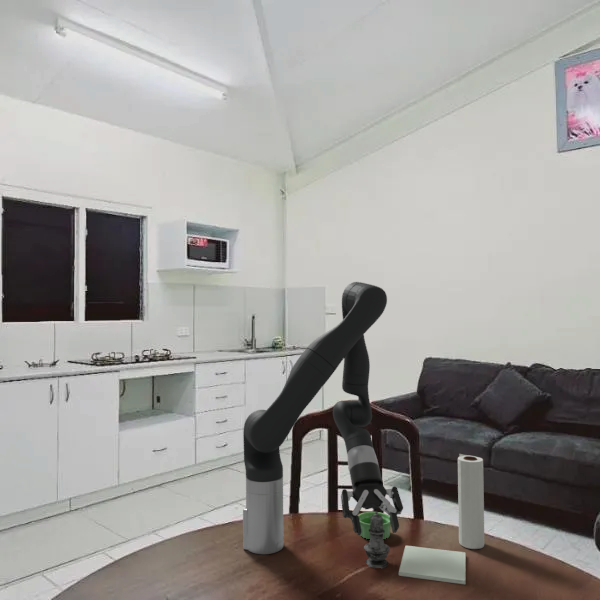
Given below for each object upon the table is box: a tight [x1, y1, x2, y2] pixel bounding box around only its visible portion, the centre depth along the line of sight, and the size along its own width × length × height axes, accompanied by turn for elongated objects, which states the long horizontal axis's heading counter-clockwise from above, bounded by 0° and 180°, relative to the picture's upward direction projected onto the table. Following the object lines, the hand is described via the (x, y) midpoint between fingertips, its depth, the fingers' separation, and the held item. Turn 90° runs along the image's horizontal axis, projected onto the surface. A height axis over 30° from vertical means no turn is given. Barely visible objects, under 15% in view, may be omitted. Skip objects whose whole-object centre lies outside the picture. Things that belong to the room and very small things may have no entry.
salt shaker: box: [363, 510, 390, 569], centre depth 124 cm, size 6×6×12 cm
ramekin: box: [357, 511, 392, 540], centre depth 140 cm, size 9×9×4 cm
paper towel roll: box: [457, 453, 485, 550], centre depth 134 cm, size 7×6×21 cm
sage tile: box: [398, 545, 466, 585], centre depth 123 cm, size 14×14×1 cm
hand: (377, 532), depth 124 cm, fingers open, 8 cm apart
